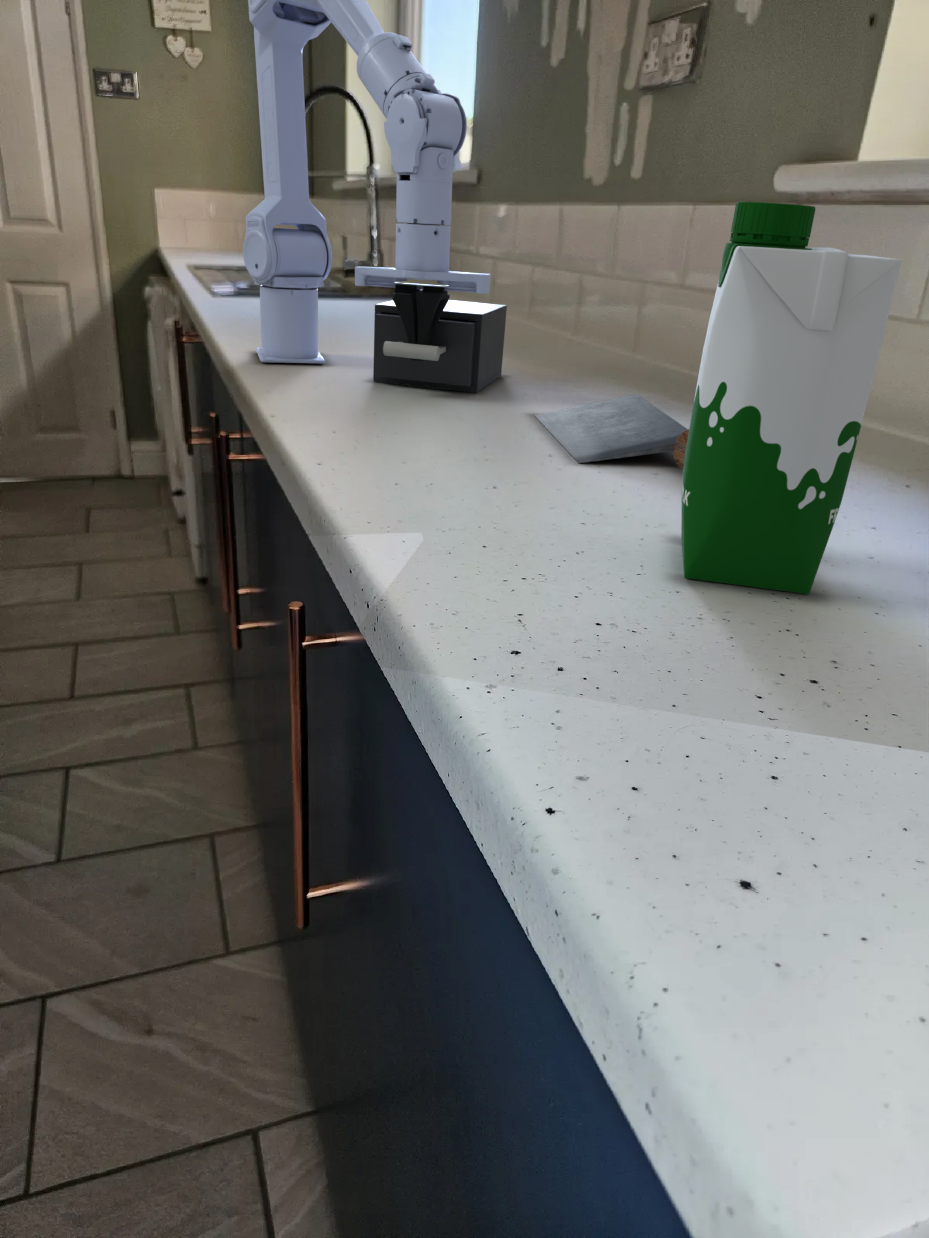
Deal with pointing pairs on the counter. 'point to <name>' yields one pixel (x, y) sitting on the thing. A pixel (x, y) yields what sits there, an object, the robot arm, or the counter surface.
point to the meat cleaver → (616, 430)
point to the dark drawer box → (424, 352)
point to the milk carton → (779, 399)
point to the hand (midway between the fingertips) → (420, 359)
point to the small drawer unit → (485, 342)
